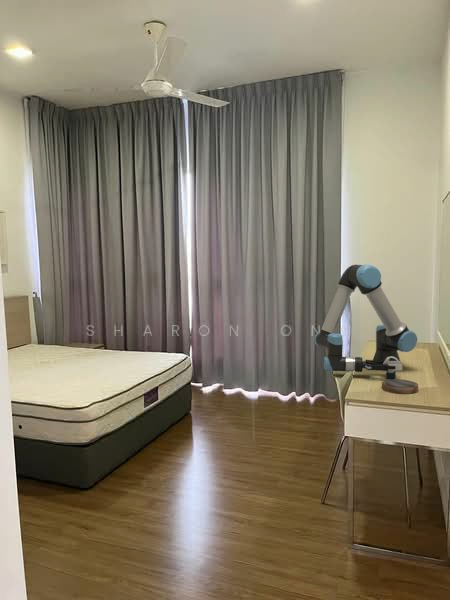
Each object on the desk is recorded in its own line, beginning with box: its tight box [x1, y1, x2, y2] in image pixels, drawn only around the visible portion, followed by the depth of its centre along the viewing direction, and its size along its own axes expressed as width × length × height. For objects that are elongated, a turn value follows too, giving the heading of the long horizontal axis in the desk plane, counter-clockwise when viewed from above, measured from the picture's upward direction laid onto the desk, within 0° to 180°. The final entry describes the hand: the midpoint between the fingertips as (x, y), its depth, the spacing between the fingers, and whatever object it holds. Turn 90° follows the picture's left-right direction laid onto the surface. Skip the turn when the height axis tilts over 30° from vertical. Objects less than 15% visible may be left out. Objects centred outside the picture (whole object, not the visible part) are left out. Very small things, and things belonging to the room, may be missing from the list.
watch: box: [383, 356, 399, 380], centre depth 244 cm, size 6×8×11 cm
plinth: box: [381, 378, 419, 395], centre depth 224 cm, size 16×16×3 cm
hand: (401, 365), depth 243 cm, fingers open, 7 cm apart
